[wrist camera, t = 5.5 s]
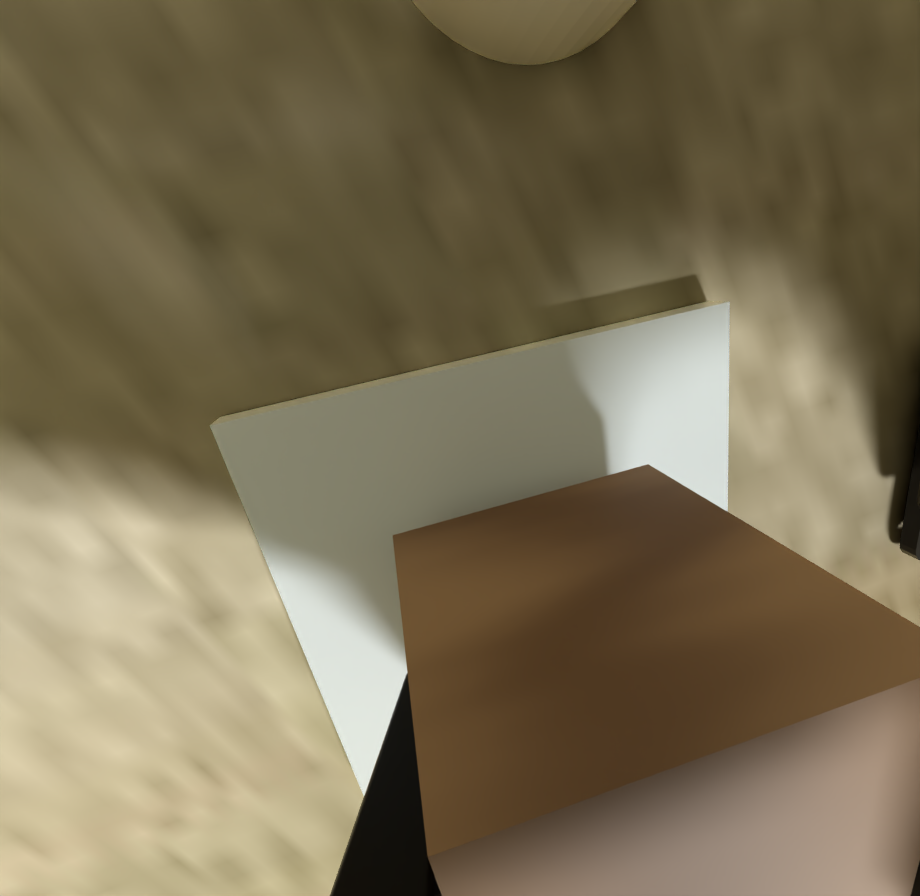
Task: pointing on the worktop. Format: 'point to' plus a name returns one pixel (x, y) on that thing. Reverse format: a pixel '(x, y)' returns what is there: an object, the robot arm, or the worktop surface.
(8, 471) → the worktop surface
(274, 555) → the tile
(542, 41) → the stoneware jar
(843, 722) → the walnut cube
